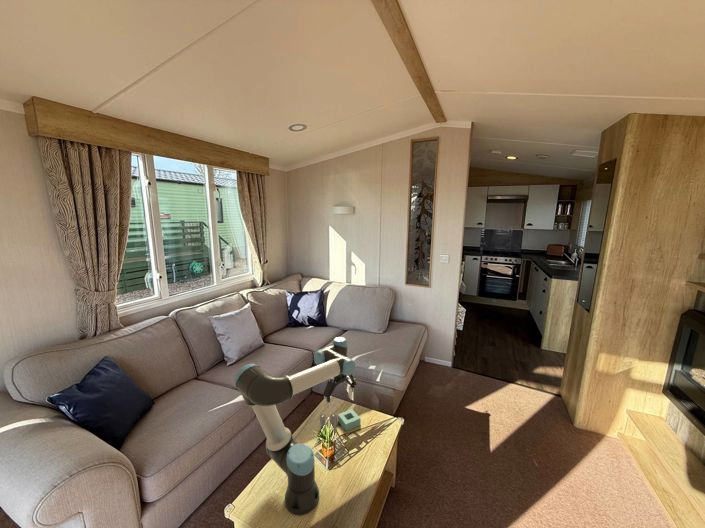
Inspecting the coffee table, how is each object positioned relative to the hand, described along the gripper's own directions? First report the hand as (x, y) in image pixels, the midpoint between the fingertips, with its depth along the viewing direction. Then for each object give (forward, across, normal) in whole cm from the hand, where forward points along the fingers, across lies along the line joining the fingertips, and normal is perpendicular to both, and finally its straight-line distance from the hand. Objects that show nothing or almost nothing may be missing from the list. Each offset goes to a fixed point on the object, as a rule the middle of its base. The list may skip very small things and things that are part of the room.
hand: (340, 402), depth 165 cm
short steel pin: (+23, +4, +13) cm, 27 cm away
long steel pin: (+23, -3, +2) cm, 23 cm away
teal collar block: (+23, +12, +8) cm, 27 cm away
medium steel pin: (+23, -4, +12) cm, 26 cm away
